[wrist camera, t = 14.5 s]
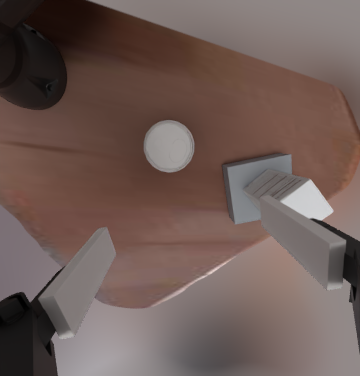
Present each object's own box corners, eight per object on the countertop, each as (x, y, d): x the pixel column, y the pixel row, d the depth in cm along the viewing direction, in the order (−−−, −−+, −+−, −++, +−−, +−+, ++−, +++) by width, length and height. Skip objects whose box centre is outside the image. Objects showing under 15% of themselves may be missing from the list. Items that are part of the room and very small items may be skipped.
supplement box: (286, 191, 39) (336, 212, 27) (259, 211, 40) (296, 240, 28) (268, 167, 38) (312, 177, 25) (241, 189, 39) (270, 209, 26)
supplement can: (194, 135, 40) (203, 130, 25) (181, 168, 42) (183, 181, 27) (161, 122, 39) (151, 109, 25) (150, 156, 41) (134, 163, 26)
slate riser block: (221, 164, 42) (227, 167, 37) (277, 153, 42) (291, 154, 37) (228, 215, 46) (235, 224, 41) (281, 205, 45) (293, 213, 40)
